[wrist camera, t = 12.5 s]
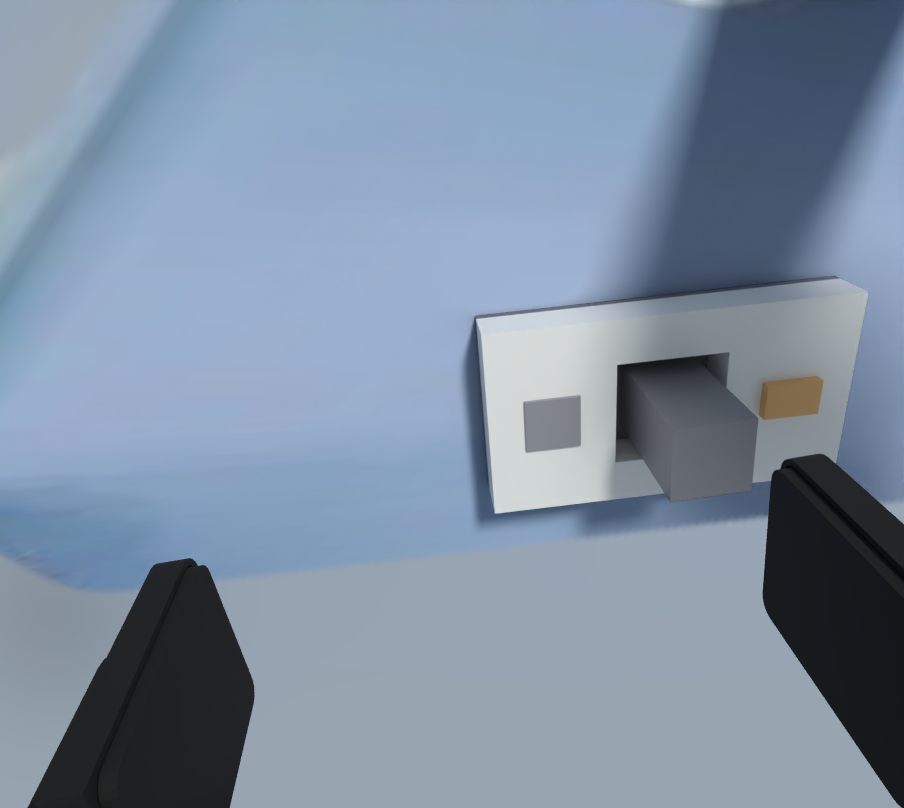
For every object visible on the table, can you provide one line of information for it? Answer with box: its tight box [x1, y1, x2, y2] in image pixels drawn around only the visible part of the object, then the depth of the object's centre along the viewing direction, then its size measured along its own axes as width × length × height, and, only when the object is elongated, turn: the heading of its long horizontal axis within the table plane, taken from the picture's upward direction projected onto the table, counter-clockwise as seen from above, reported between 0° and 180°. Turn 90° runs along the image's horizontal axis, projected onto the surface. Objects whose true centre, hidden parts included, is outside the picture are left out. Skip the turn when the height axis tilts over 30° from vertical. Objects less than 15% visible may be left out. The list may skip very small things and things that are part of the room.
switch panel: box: [475, 276, 868, 514], centre depth 38 cm, size 20×11×4 cm, turn 95°
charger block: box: [621, 356, 758, 502], centre depth 35 cm, size 4×4×8 cm
